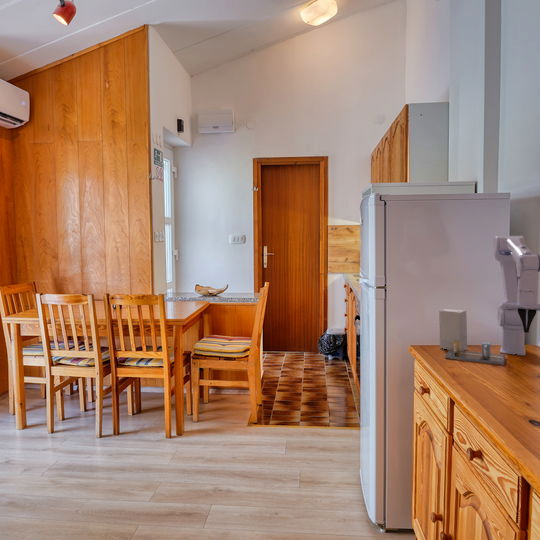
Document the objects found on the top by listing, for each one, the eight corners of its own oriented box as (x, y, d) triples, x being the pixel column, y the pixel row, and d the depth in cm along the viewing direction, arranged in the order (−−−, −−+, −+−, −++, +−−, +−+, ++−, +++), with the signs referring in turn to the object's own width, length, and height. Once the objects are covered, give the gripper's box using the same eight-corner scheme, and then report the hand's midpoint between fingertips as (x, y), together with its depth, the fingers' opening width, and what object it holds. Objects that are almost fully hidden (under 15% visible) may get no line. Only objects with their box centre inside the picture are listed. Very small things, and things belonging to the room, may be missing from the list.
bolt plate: (449, 351, 168) (450, 338, 167) (505, 357, 159) (505, 343, 159) (445, 358, 158) (445, 344, 158) (503, 365, 149) (504, 350, 149)
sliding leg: (482, 353, 160) (482, 341, 159) (490, 354, 158) (490, 342, 158) (480, 357, 154) (481, 345, 153) (488, 358, 153) (489, 346, 152)
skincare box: (467, 350, 170) (468, 310, 169) (460, 352, 166) (461, 312, 165) (445, 346, 176) (446, 307, 175) (438, 348, 172) (439, 309, 171)
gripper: (502, 290, 151) (501, 331, 151) (554, 293, 144) (552, 336, 144) (503, 289, 157) (502, 328, 158) (553, 291, 150) (551, 332, 150)
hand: (526, 332), depth 151 cm, fingers closed
